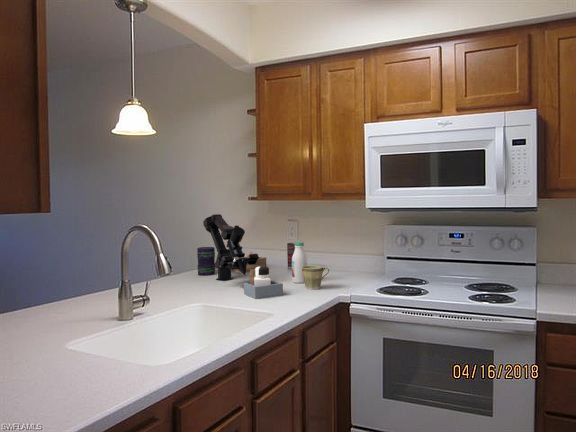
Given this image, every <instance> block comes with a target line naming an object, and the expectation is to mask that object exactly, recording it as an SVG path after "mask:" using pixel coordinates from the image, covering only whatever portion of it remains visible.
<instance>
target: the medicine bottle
mask: <svg viewBox="0 0 576 432" xmlns="http://www.w3.org/2000/svg"><path fill="white" fill-rule="evenodd" d="M255 276H256V277H254V286H264V285H271V280H272V279H271V276H270V268H269V267H268V266H267V265H266V266H260V267H257V268H255Z"/></svg>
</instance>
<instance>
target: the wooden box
mask: <svg viewBox="0 0 576 432" xmlns="http://www.w3.org/2000/svg"><path fill="white" fill-rule="evenodd" d="M260 266H266V267H267V257H262V256H259V258H258V260H257V262H256V264H253V265H249V264H248V263H247V265H246V273H248V272H249V273H250V269H255V268H257V267H260ZM231 273H239V274H240V273H241V274H242V272H241V271H240V270H239V269H238V270H237V269H236V270H231Z"/></svg>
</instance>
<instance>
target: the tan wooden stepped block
mask: <svg viewBox="0 0 576 432" xmlns="http://www.w3.org/2000/svg"><path fill="white" fill-rule="evenodd" d="M254 277H256V276H255V269H250V271H249V279H250V281H249V282H250V283H249V284H251V285H254Z"/></svg>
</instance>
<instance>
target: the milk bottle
mask: <svg viewBox="0 0 576 432" xmlns="http://www.w3.org/2000/svg"><path fill="white" fill-rule="evenodd" d="M294 243H295V251H294V254H293V256H292V270H291V281H292V283H294V284H305V281H304V276H303V272H302V267H303V266H308V258H307V254H306V253H305V249H304V246H305V243H304V242H303V241H296V242H295V241H294Z"/></svg>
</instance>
